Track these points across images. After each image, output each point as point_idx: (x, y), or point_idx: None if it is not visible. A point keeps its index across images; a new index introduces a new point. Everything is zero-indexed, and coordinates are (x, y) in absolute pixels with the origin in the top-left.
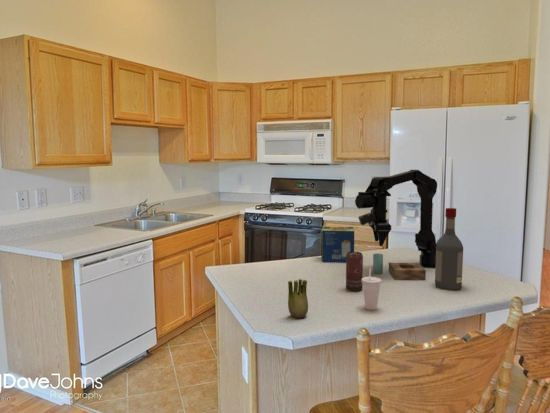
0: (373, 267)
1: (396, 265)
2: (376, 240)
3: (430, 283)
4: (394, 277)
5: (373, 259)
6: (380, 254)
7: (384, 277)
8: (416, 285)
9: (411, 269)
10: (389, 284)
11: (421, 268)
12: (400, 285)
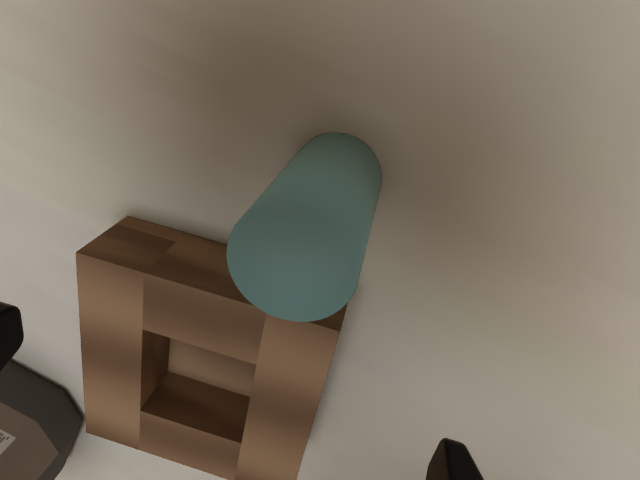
0: (325, 148)
1: (227, 337)
2: (436, 467)
3: (65, 368)
4: (141, 227)
5: (312, 179)
6: (294, 296)
7: (194, 169)
8: (18, 281)
9: (103, 370)
10: (15, 119)
11: (131, 437)
12: (4, 186)
